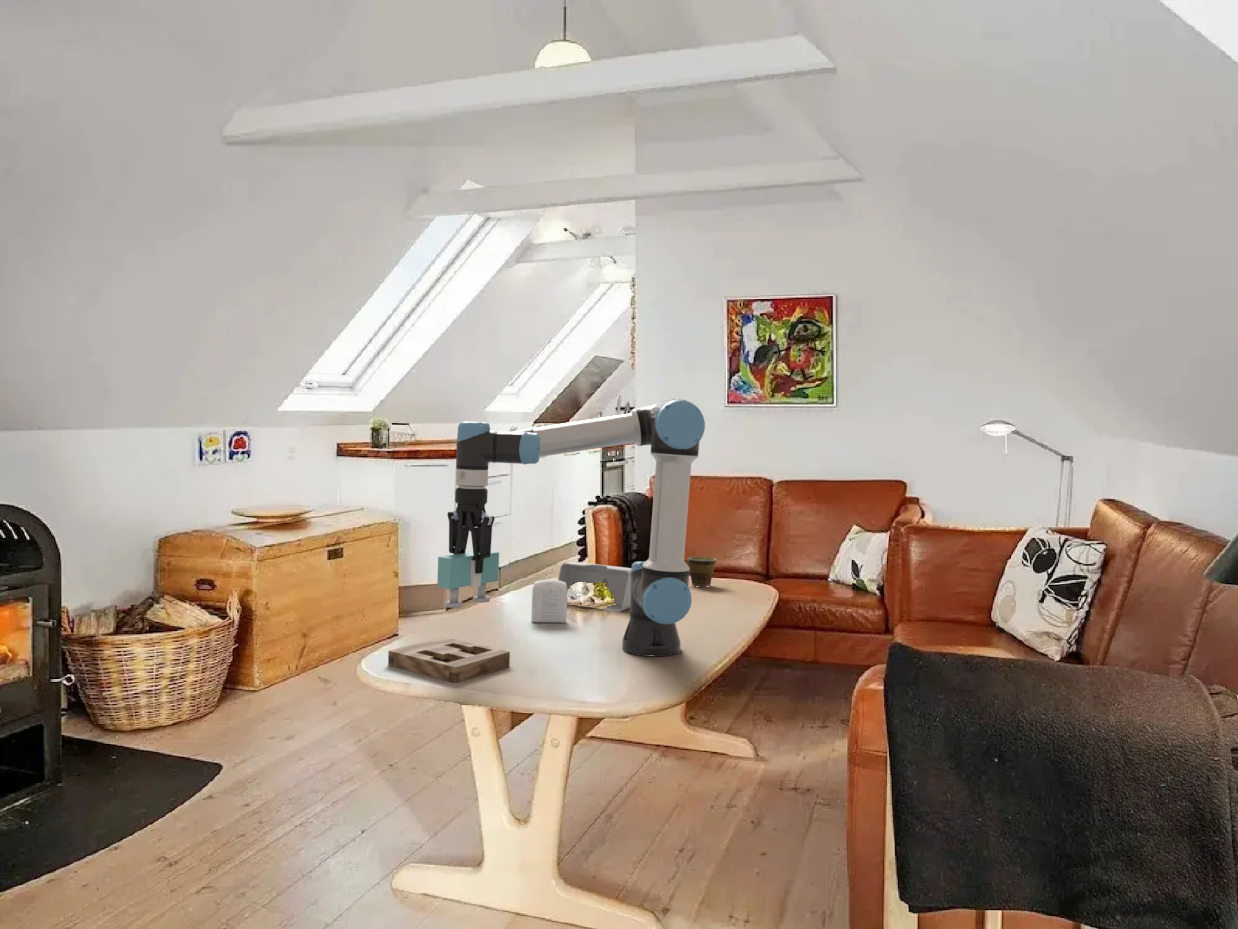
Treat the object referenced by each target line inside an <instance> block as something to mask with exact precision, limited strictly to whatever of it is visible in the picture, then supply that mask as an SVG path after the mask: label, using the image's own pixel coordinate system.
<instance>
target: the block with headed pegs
mask: <svg viewBox="0 0 1238 929" xmlns="http://www.w3.org/2000/svg"><path fill="white" fill-rule="evenodd" d="M472 558H474V555H473V551H471V552H465V553H463V554H455V555H454V554H450V555H449V554H448V555H441V556H438V557H437V581H436V582H437V584H436V586H437V588H441V589H446V590H447V589H448V590H449V600H446V601H444V604H445V605H444V606H445V608H450V609H455V608H456V609H458V608H459V609H460V608H463V605H464V604H463V601H462V600H459V590H460V588H464V587H470V579H471V560H472ZM499 564H500V552H499V551H493V550H491V554H490V557H488V558H485V559H484V560H483V572H482V573H481V586H480V587H477V595H474V596H472V602H475V603H489V602H490V601H491V600H490V599H491V598H490V595H487V584H488V583H493V582H498V581H499V568H500V565H499Z"/></svg>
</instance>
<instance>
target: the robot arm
mask: <svg viewBox="0 0 1238 929" xmlns="http://www.w3.org/2000/svg"><path fill="white" fill-rule="evenodd" d="M705 429H706V422H705V418H704V415H703V413H702V411H701V410H700V409H699V408H698V406H697V405H695V404H694V403H693V402H691V401H688V400H687V399H680V398H678V399H675V398H674V399H668V400H667V399H666V400H662V401H659V402H657V403H654V404H650V405H648V406H643V407H638V408H633V409H631V411H630V412H629V413H625V414H619V415H611V416H605V417H598V418H591V419H584V420H583V419H582V420H577V421H569V422H564V423H558V424H550V425H549V424H548V425H544V426H536V427H532V428H523V429H517V430H516V429H513V430H508V431H496V430H492V429H491V427H490V422H487V421H486V422H483V421H481V422H480V421H479V422H478V421H462V422H460V423H459V424H458V426H457V435H456V436H457V437H456V462H455V463H456V464H455V465H456V466H455V468H456V469H455V485H456V486H458V487H456V488H455V492H454V501H455V503H456V505H457V506H456V508H455V510H453V511H448V512H447V514H446V515H447V518H448V552H449V553H450V554H452V555H455V554H463V553H466V550H467V545H468V539H469V536H471V543H472V552H473V555H474V558H472V560H471V579H470V586H469V587H470V589H471V588H472V589H474V588H478V587H480V586H481V573H482V572H483V560H484V559H485V558H488V557H490V554H491V551H492V537H493V535H492V534H493V525H494V522H495V519H496V518H495V516H493V515H489V514H487V512H486V507H485V506H486V504H487V503H488V492H489V491H488V490H489V489H487V488H486V487H488V485H489V464H490V463H493V464H495V463H498V464H499V463H501V464H517V465H518V464H521V465H534V464H537V463H539V461H540V458H541V457H542V458H543V457H546V456H547V457H548V456H554V455H562V454H567V453H575V452H581V451H582V452H583V451H589V450H594V449H595V450H596V449H600V448H601V449H602V448H608V447H615V446H621V445H628V444H635V445H636V446H638V447H641V446H650V455H651V456H652V457H653V458H654V460H655V473H654V474H655V475H654V484H653V485H654V486H653V499H652V514H651V525H650V528H651V529H650V541H649V542H650V543H649V551H648V552H649V554H648V555H649V556H648V558H647V560H645V561H635V562H633V563H632V565H631V568H632V569H631V573H630V574H631V600H630V608H629V620H628V624H627V627H626V628H625V632H624V635H623V637H622V645H621V646H622V647H621V648H622V650H623V651H624V650H625V651H624V652H626V651H628V652H627V653H629V652H630V653H629V654H632V653H634V654H633V655H636V654H639V655H638V656H643V655H654V656H653V657H663V656H662V655H668V656H671V655H670V654H673V655H676V654H679V653H680V652H681V643H682V642H681V640H680V636H679V632H678V629H677V628H678V627H677V625H676V623H678V622H679V621H681V620H682V619H683V618H685V617H686V616H687V614H688V613H689V611H690V609H691V607H692V600H693V599H692V593H691V590H690V587H689V582H690V575H689V572H690V567H689V565H688V563H687V562H685V561H684V560H685V554H686V553H685V550H686V541H687V540H686V538H687V527H688V526H687V524H688V514H689V500H690V499H689V497H690V486H691V473H692V464H693V462H694V461H696V460H697V459H698V458H699V451H700V450H699V449H700V442H701V441H702V438H703V436H704V433H705ZM469 534H470V535H469ZM679 651H680V652H679ZM675 653H676V654H675Z"/></svg>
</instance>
